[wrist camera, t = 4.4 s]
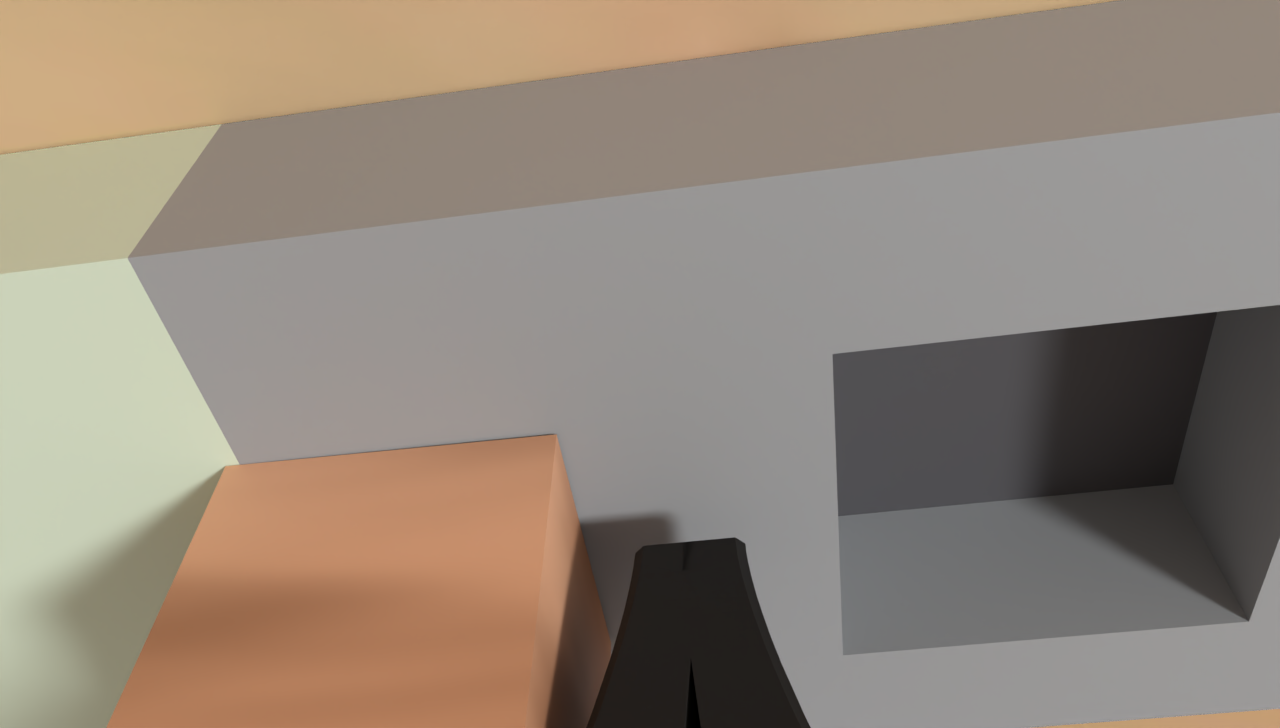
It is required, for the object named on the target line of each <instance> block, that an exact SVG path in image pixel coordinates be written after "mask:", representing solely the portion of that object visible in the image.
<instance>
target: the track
mask: <svg viewBox="0 0 1280 728" xmlns="http://www.w3.org/2000/svg"><path fill="white" fill-rule="evenodd" d="M555 434H557V438H558V442H559V445H560V449H561V453H562V457H563V461H564V465H565V468H566V472H567V476H568V480H569V484H570V488H571V491H572V495H573V499H574V503H575V507H576V511H577V514H578V518H579V522H580V526H581V530H582V534H583V537H584V541H585V545H586V549H587V553H588V557H589V560H590V564H591V568H592V572H593V576H594V580H595V583H596V587H597V591H598V595H599V599H600V603H601V606H602V610H603V614H604V618H605V622H606V626H607V629H608V633H609V637H610V641H611V654H612V651H613V648H614V644H615V641H616V637H617V634H618V631H619V627H620V624H621V620H622V616H623V612H624V609H625V605H626V600H627V596H628V592H629V587H630V582H631V578H632V572H633V566H634V559H635V553H636V552H637V551H638V550H639V549H641V548H642V547H643V546H646V545H657V544H668V543H679V542H689V541H700V540H711V539H722V538H733V537H735V538H737V539H739V540H740V541H742V542H744V543H745V545H746V553H747V559H748V564H749V568H750V572H751V577H752V581H753V584H754V588H755V591H756V595H757V598H758V601H759V604H760V607H761V610H762V613H763V616H764V619H765V622H766V624H767V627H768V630H769V633H770V635H771V638H772V641H773V643H774V646H775V648H776V651H777V653H778V656H779V658H780V661H781V663H782V666H783V668H784V670H785V672H786V675H787V677H788V679H789V681H790V684H791V686H792V688H793V690H794V693H795V695H796V697H797V699H798V702H799V704H800V706H801V708H802V711H803V713H804V715H805V717H806V719H807V721H808V723H809V725H810V727H811V728H1030V727H1043V726H1057V725H1070V724H1083V723H1096V722H1110V721H1123V720H1136V719H1149V718H1163V717H1176V716H1189V715H1202V714H1216V713H1229V712H1242V711H1255V710H1268V709H1280V0H1120V1H1112V2H1105V3H1098V4H1091V5H1083V6H1076V7H1069V8H1062V9H1054V10H1047V11H1040V12H1033V13H1025V14H1018V15H1011V16H1004V17H996V18H989V19H982V20H975V21H967V22H960V23H953V24H946V25H938V26H931V27H924V28H916V29H909V30H902V31H895V32H887V33H880V34H873V35H866V36H858V37H851V38H844V39H837V40H829V41H822V42H815V43H808V44H800V45H793V46H786V47H779V48H771V49H764V50H757V51H750V52H742V53H735V54H728V55H721V56H713V57H706V58H699V59H692V60H684V61H677V62H670V63H662V64H655V65H648V66H641V67H633V68H626V69H619V70H612V71H604V72H597V73H590V74H583V75H575V76H568V77H561V78H554V79H546V80H539V81H532V82H525V83H517V84H510V85H503V86H496V87H488V88H481V89H474V90H467V91H459V92H452V93H445V94H437V95H430V96H423V97H416V98H408V99H401V100H394V101H387V102H379V103H372V104H365V105H358V106H350V107H343V108H336V109H329V110H321V111H314V112H307V113H300V114H292V115H285V116H278V117H271V118H263V119H256V120H249V121H242V122H234V123H227V124H220V125H213V126H205V127H198V128H191V129H183V130H176V131H169V132H162V133H154V134H147V135H140V136H133V137H125V138H118V139H111V140H104V141H96V142H89V143H82V144H75V145H67V146H60V147H53V148H46V149H38V150H31V151H24V152H17V153H9V154H2V155H0V728H106V727H107V725H108V723H109V721H110V718H111V716H112V714H113V712H114V710H115V707H116V705H117V703H118V701H119V699H120V696H121V694H122V692H123V690H124V688H125V685H126V683H127V681H128V679H129V677H130V674H131V672H132V670H133V668H134V666H135V663H136V661H137V659H138V657H139V655H140V653H141V650H142V648H143V646H144V644H145V642H146V639H147V637H148V635H149V633H150V631H151V628H152V626H153V624H154V622H155V620H156V617H157V615H158V613H159V611H160V609H161V606H162V604H163V602H164V600H165V598H166V595H167V593H168V591H169V589H170V587H171V585H172V582H173V580H174V578H175V576H176V574H177V571H178V569H179V567H180V565H181V563H182V560H183V558H184V556H185V554H186V552H187V549H188V547H189V545H190V543H191V541H192V538H193V536H194V534H195V532H196V530H197V528H198V525H199V523H200V521H201V519H202V517H203V514H204V512H205V510H206V508H207V506H208V503H209V501H210V499H211V497H212V495H213V492H214V490H215V488H216V486H217V484H218V481H219V479H220V477H221V475H222V473H223V470H224V468H225V466H233V465H243V464H253V463H264V462H274V461H285V460H295V459H305V458H316V457H326V456H337V455H347V454H357V453H368V452H378V451H389V450H399V449H410V448H420V447H430V446H441V445H451V444H462V443H472V442H482V441H493V440H503V439H514V438H524V437H534V436H545V435H555Z"/></svg>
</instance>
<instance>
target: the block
mask: <svg viewBox="0 0 1280 728" xmlns="http://www.w3.org/2000/svg"><path fill="white" fill-rule="evenodd" d="M610 658H611V641H610V637H609V633H608V629H607V626H606V622H605V618H604V614H603V610H602V606H601V603H600V599H599V595H598V591H597V587H596V583H595V580H594V576H593V572H592V568H591V564H590V560H589V557H588V553H587V549H586V545H585V541H584V537H583V534H582V530H581V526H580V522H579V518H578V514H577V511H576V507H575V503H574V499H573V495H572V491H571V488H570V484H569V480H568V476H567V472H566V468H565V465H564V461H563V457H562V453H561V449H560V445H559V442H558V438H557V434H555V435H545V436H534V437H524V438H514V439H503V440H493V441H482V442H472V443H462V444H451V445H441V446H430V447H420V448H410V449H399V450H389V451H378V452H368V453H357V454H347V455H337V456H326V457H316V458H305V459H295V460H285V461H274V462H264V463H253V464H243V465H233V466H225V468H224V470H223V473H222V475H221V477H220V479H219V481H218V484H217V486H216V488H215V490H214V492H213V495H212V497H211V499H210V501H209V503H208V506H207V508H206V510H205V512H204V514H203V517H202V519H201V521H200V523H199V525H198V528H197V530H196V532H195V534H194V536H193V538H192V541H191V543H190V545H189V547H188V549H187V552H186V554H185V556H184V558H183V560H182V563H181V565H180V567H179V569H178V571H177V574H176V576H175V578H174V580H173V582H172V585H171V587H170V589H169V591H168V593H167V595H166V598H165V600H164V602H163V604H162V606H161V609H160V611H159V613H158V615H157V617H156V620H155V622H154V624H153V626H152V628H151V631H150V633H149V635H148V637H147V639H146V642H145V644H144V646H143V648H142V650H141V653H140V655H139V657H138V659H137V661H136V663H135V666H134V668H133V670H132V672H131V674H130V677H129V679H128V681H127V683H126V685H125V688H124V690H123V692H122V694H121V696H120V699H119V701H118V703H117V705H116V707H115V710H114V712H113V714H112V716H111V718H110V721H109V723H108V725H107V727H106V728H586V727H587V724H588V721H589V719H590V716H591V713H592V711H593V708H594V705H595V702H596V699H597V696H598V693H599V690H600V687H601V684H602V681H603V678H604V675H605V672H606V669H607V666H608V664H609V661H610Z"/></svg>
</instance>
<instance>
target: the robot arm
mask: <svg viewBox="0 0 1280 728" xmlns="http://www.w3.org/2000/svg"><path fill="white" fill-rule="evenodd" d="M586 728H811V727H810V725H809V723H808V721H807V719H806V717H805V715H804V713H803V711H802V708H801V706H800V704H799V702H798V699H797V697H796V695H795V693H794V690H793V688H792V686H791V684H790V681H789V679H788V677H787V675H786V672H785V670H784V668H783V666H782V663H781V661H780V658H779V656H778V653H777V651H776V648H775V646H774V643H773V641H772V638H771V635H770V633H769V630H768V627H767V624H766V622H765V619H764V616H763V613H762V610H761V607H760V604H759V601H758V598H757V595H756V591H755V588H754V584H753V581H752V577H751V572H750V568H749V564H748V559H747V553H746V545H745V543H744V542H742V541H740V540H739V539H737V538H735V537H733V538H722V539H711V540H700V541H689V542H679V543H668V544H657V545H646V546H643V547H642V548H641V549H639V550H638V551H637V552H636V553H635V559H634V566H633V572H632V578H631V582H630V587H629V592H628V596H627V600H626V605H625V609H624V612H623V616H622V620H621V624H620V627H619V631H618V634H617V637H616V641H615V644H614V648H613V651H612V654H611V658H610V661H609V664H608V666H607V669H606V672H605V675H604V678H603V681H602V684H601V687H600V690H599V693H598V696H597V699H596V702H595V705H594V708H593V711H592V713H591V716H590V719H589V721H588V724H587V727H586Z"/></svg>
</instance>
